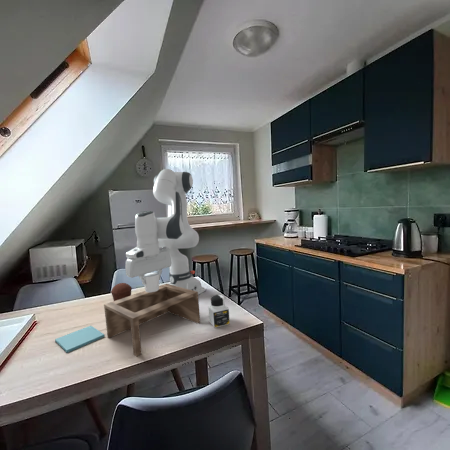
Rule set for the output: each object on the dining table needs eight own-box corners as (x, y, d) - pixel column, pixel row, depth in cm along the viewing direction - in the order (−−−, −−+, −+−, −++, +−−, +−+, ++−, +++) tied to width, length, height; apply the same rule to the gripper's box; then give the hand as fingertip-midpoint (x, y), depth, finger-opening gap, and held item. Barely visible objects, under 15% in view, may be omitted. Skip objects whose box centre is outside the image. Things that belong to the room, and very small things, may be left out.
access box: (168, 310, 128) (166, 283, 127) (200, 322, 113) (197, 291, 111) (107, 337, 105) (104, 304, 103) (136, 356, 89) (132, 318, 88)
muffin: (112, 299, 150) (110, 282, 149) (132, 295, 154) (130, 279, 153) (111, 306, 139) (110, 288, 138) (133, 302, 143) (131, 284, 142)
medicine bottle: (214, 328, 106) (212, 300, 105) (209, 321, 113) (207, 295, 112) (229, 324, 109) (228, 297, 108) (223, 317, 116) (222, 292, 115)
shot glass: (150, 294, 103) (149, 277, 102) (140, 291, 107) (138, 275, 106) (163, 288, 108) (162, 272, 108) (153, 286, 112) (152, 271, 112)
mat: (91, 327, 114) (90, 325, 114) (104, 336, 105) (104, 334, 105) (55, 341, 104) (55, 339, 104) (66, 352, 95) (66, 350, 95)
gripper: (164, 245, 116) (167, 274, 117) (121, 254, 100) (125, 287, 102) (173, 246, 111) (175, 276, 113) (129, 255, 96) (133, 290, 98)
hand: (151, 282), depth 107 cm, fingers closed on shot glass, 5 cm apart
